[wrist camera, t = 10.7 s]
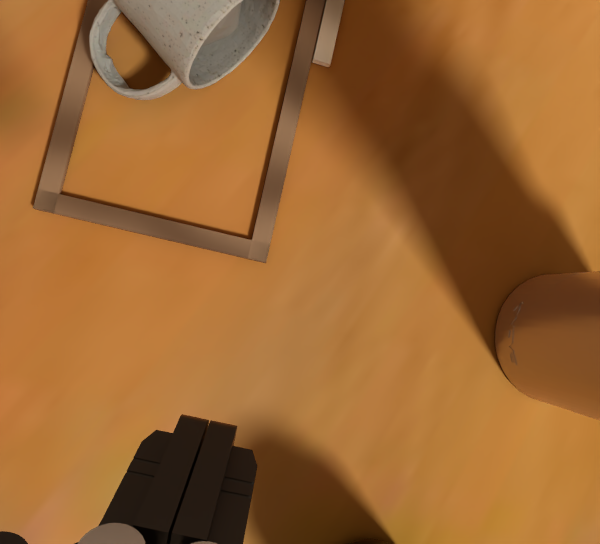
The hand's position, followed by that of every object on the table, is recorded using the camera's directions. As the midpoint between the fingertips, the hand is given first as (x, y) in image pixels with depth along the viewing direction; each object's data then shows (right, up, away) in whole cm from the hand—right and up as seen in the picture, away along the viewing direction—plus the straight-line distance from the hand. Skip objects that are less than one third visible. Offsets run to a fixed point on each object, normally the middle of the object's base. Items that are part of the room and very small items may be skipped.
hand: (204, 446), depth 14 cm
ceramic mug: (-5, +20, +20) cm, 28 cm away
